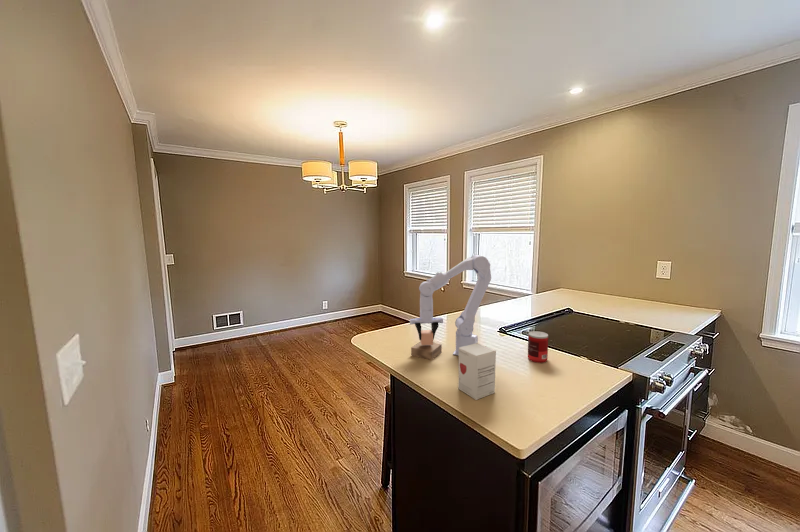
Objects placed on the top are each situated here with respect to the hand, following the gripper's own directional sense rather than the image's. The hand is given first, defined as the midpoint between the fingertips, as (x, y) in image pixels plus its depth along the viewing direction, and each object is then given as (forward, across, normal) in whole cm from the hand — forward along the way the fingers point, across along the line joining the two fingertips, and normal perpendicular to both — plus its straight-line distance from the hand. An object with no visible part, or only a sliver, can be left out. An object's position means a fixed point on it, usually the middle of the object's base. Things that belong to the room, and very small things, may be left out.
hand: (426, 339), depth 144 cm
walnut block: (+7, 0, 0) cm, 7 cm away
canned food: (+7, -45, +11) cm, 47 cm away
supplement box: (+7, -12, +35) cm, 37 cm away
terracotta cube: (+2, 0, 0) cm, 2 cm away
